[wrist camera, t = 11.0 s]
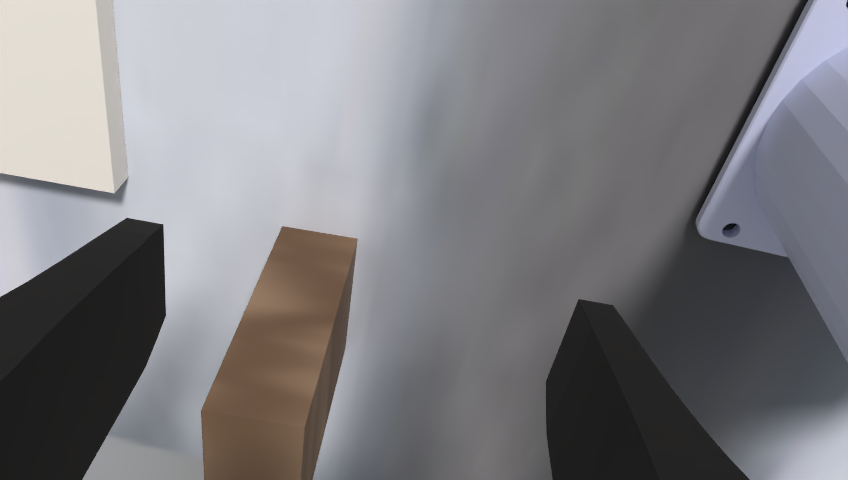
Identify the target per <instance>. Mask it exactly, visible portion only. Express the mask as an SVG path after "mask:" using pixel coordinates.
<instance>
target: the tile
mask: <svg viewBox="0 0 848 480" xmlns="http://www.w3.org/2000/svg"><path fill="white" fill-rule="evenodd" d="M0 173H4V174H9V175H15V176H20V177H26V178H32V179H37V180H43V181H48V182H54V183H60V184H65V185H71V186H76V187H82V188H87V189H93V190H99V191H104V192H110V193H115V192H116V191H117V190H118V189H119V187H120V186H121V185H122V184H123V183H124V182H125V180H126V179H127V178H128V167H127V155H126V144H125V132H124V121H123V110H122V98H121V87H120V75H119V64H118V53H117V41H116V30H115V18H114V7H113V0H0Z"/></svg>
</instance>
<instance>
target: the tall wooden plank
mask: <svg viewBox="0 0 848 480" xmlns="http://www.w3.org/2000/svg"><path fill="white" fill-rule="evenodd" d="M356 247H357V239H355V238H349V237H343V236H337V235H331V234H325V233H319V232H313V231H307V230H301V229H295V228H289V227H283V226H282V228H281V231H280V233H279V235H278V237H277V240H276V242H275V244H274V246H273V249H272V251H271V253H270V256H269V258H268V260H267V262H266V265H265V267H264V269H263V271H262V274H261V276H260V278H259V280H258V283H257V285H256V287H255V290H254V292H253V294H252V296H251V299H250V301H249V303H248V305H247V308H246V310H245V312H244V314H243V317H242V319H241V321H240V324H239V326H238V328H237V330H236V333H235V335H234V337H233V339H232V342H231V344H230V346H229V348H228V351H227V353H226V355H225V358H224V360H223V362H222V364H221V367H220V369H219V371H218V373H217V376H216V378H215V380H214V382H213V385H212V387H211V389H210V392H209V394H208V396H207V398H206V401H205V403H204V405H203V407H202V410H201V417H202V439H203V460H204V480H312V479H313V475H314V471H315V467H316V463H317V459H318V455H319V451H320V447H321V443H322V439H323V435H324V431H325V427H326V423H327V419H328V415H329V411H330V407H331V403H332V399H333V395H334V391H335V387H336V383H337V379H338V375H339V371H340V367H341V363H342V359H343V355H344V351H345V345H346V336H347V327H348V319H349V310H350V301H351V292H352V283H353V274H354V265H355V256H356Z"/></svg>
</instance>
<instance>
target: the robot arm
mask: <svg viewBox="0 0 848 480" xmlns="http://www.w3.org/2000/svg"><path fill="white" fill-rule="evenodd" d="M846 3H847V0H808V2H807V4H806V6H805V7H804V9H803V11H802V13H801V15H800V17H799V19H798V21H797V23H796V25H795V27H794V29H793V31H792V33H791V35H790V37H789V39H788V41H787V43H786V44H785V46H784V48H783V50H782V52H781V54H780V56H779V58H778V60H777V62H776V64H775V66H774V68H773V70H772V72H771V74H770V76H769V78H768V80H767V81H766V83H765V85H764V87H763V89H762V91H761V93H760V95H759V97H758V99H757V101H756V103H755V105H754V107H753V109H752V111H751V113H750V115H749V116H748V118H747V120H746V122H745V124H744V126H743V128H742V130H741V132H740V134H739V136H738V138H737V140H736V142H735V144H734V146H733V148H732V150H731V152H730V153H729V155H728V157H727V159H726V161H725V163H724V165H723V167H722V169H721V171H720V173H719V175H718V177H717V179H716V181H715V183H714V185H713V187H712V188H711V190H710V192H709V194H708V196H707V198H706V200H705V202H704V204H703V206H702V208H701V210H700V212H699V214H698V216H697V218H696V222H695V223H696V227H697V230H698V232H699V234H700V235H701V236H702V237H704V238H706V239H709V240H713V241H718V242H722V243H727V244H731V245H736V246H740V247H744V248H749V249H753V250H758V251H762V252H767V253H771V254H775V255H780V256H784V257H788V258H789V259H790V261H791V263H792V265H793V267H794V268H795V270H796V272H797V274H798V276H799V277H800V279H801V281H802V283H803V284H804V286H805V288H806V290H807V292H808V293H809V295H810V297H811V299H812V301H813V302H814V304H815V306H816V308H817V309H818V311H819V313H820V315H821V317H822V318H823V320H824V322H825V324H826V326H827V327H828V329H829V331H830V333H831V335H832V336H833V338H834V340H835V342H836V343H837V345H838V347H839V349H840V351H841V352H842V354H843V356H844V358H845V360H846V361H847V363H848V8H847V7H846ZM730 223H736V226H735V227H734V228H733V229H731V230H722V229H723V228H724V227H725V226H726V225H727V224H730ZM165 316H166V306H165V270H164V233H163V224H157V223H152V222H146V221H141V220H135V219H130V218H126V219H125V220H123V221H121V222H120V223H118V224H117V225H115V226H114V227H112V228H110V229H109V230H107V231H106V232H104V233H103V234H101V235H100V236H98V237H97V238H95V239H94V240H92V241H90V242H89V243H87V244H86V245H84V246H83V247H81V248H80V249H78V250H77V251H75V252H74V253H72V254H71V255H69V256H68V257H66V258H64V259H63V260H61V261H60V262H58V263H57V264H55V265H53V266H52V267H50V268H49V269H47V270H45V271H44V272H42V273H41V274H39V275H37V276H36V277H34V278H33V279H31V280H29V281H28V282H26V283H24V284H23V285H21V286H19V287H17V288H15V289H14V290H12V291H10V292H8V293H7V294H5V295H3V296H1V297H0V480H82V479H83V477H84V475H85V473H86V471H87V470H88V468H89V466H90V465H91V463H92V461H93V459H94V458H95V456H96V453H97V452H98V450H99V449H100V447H101V445H102V443H103V442H104V440H105V438H106V436H107V435H108V433H109V431H110V429H111V428H112V426H113V424H114V422H115V421H116V419H117V417H118V415H119V413H120V412H121V410H122V408H123V406H124V405H125V403H126V401H127V399H128V397H129V396H130V394H131V392H132V390H133V388H134V387H135V385H136V383H137V381H138V379H139V378H140V376H141V374H142V372H143V370H144V368H145V367H146V364H147V362H148V359H149V357H150V355H151V352H152V350H153V347H154V345H155V342H156V340H157V337H158V335H159V332H160V329H161V327H162V324H163V322H164V319H165ZM546 427H547V440H548V448H549V455H550V463H551V470H552V477H553V480H749V478H748V477H747V476H746V475H745V474H744V473H743V472H742V471H741V470H740V469H739V468H738V467H737V466H736V465H735V464H734V463H733V462H732V461H731V460H730V459H729V457H728V456H727V455H726V454H725V453H724V452H723V451H722V450H721V449H720V447H719V446H718V445H717V444H716V443H715V442H714V440H713V439H712V438H711V437H710V436H709V434H708V433H707V432H706V431H705V430H704V428H703V427H702V426H701V425H700V424H699V422H698V421H697V420H696V419H695V418H694V416H693V415H692V414H691V413H690V411H689V410H688V409H687V408H686V406H685V405H684V404H683V402H682V401H681V400H680V399H679V397H678V396H677V395H676V393H675V392H674V391H673V389H672V388H671V387H670V385H669V384H668V383H667V381H666V380H665V379H664V377H663V376H662V374H661V373H660V372H659V370H658V369H657V368H656V366H655V365H654V363H653V362H652V361H651V359H650V358H649V356H648V355H647V353H646V352H645V351H644V349H643V348H642V346H641V345H640V343H639V342H638V340H637V339H636V338H635V336H634V335H633V333H632V332H631V330H630V329H629V327H628V326H627V325H626V323H625V322H624V320H623V319H622V317H621V316H620V315H619V313H618V312H617V310H616V309H615V308H614V306H613V305H608V304H603V303H597V302H591V301H586V300H580V299H579V300H578V302H577V305H576V307H575V310H574V312H573V315H572V318H571V320H570V323H569V325H568V328H567V330H566V333H565V335H564V338H563V340H562V343H561V345H560V348H559V350H558V353H557V355H556V358H555V360H554V363H553V365H552V368H551V370H550V373H549V375H548V378H547V380H546Z"/></svg>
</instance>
